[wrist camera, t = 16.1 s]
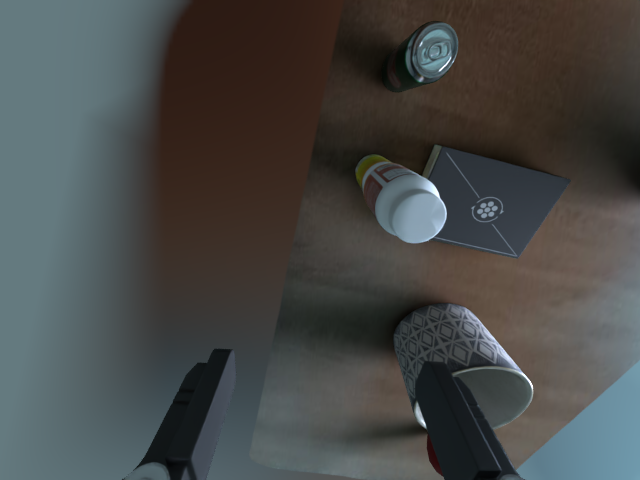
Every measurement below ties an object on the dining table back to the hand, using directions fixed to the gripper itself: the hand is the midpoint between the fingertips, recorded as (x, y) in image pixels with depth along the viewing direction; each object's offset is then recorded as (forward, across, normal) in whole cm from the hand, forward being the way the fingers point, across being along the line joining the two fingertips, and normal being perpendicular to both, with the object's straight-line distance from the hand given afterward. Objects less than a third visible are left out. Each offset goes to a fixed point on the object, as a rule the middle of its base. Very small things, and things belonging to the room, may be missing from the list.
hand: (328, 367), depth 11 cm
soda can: (+34, -9, -16) cm, 39 cm away
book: (+34, -27, +2) cm, 44 cm away
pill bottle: (+24, -8, -2) cm, 25 cm away
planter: (+34, -28, +31) cm, 54 cm away
